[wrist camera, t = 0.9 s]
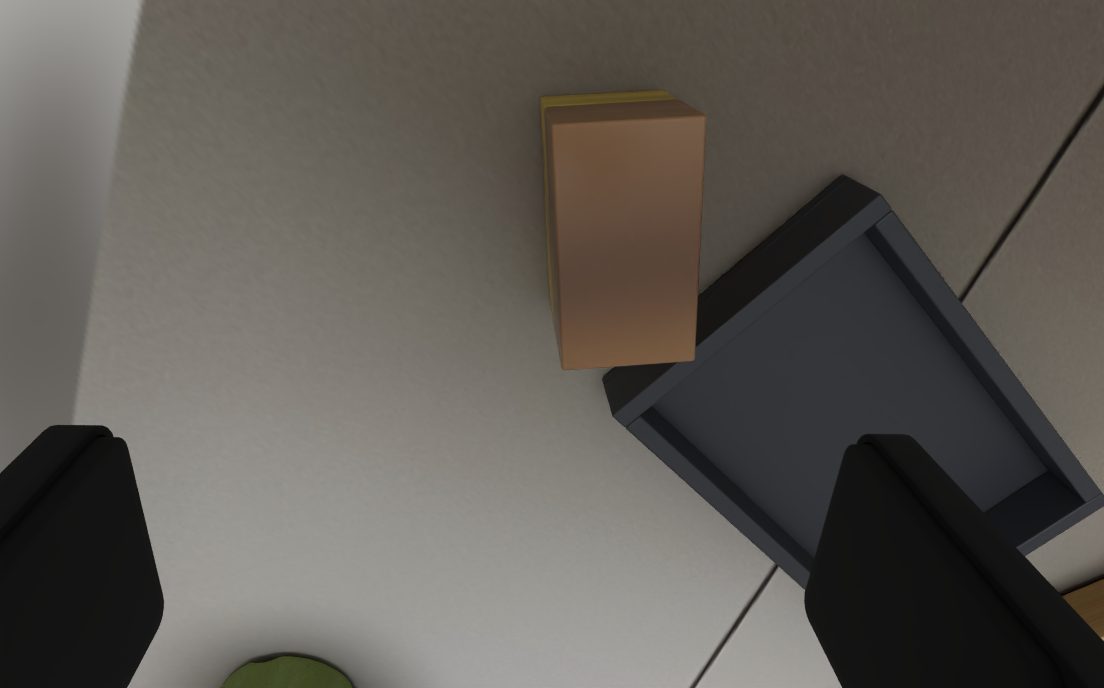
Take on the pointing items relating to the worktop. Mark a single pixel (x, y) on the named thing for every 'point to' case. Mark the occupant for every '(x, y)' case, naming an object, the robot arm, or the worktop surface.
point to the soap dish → (1089, 605)
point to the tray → (845, 386)
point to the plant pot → (287, 675)
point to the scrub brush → (623, 226)
